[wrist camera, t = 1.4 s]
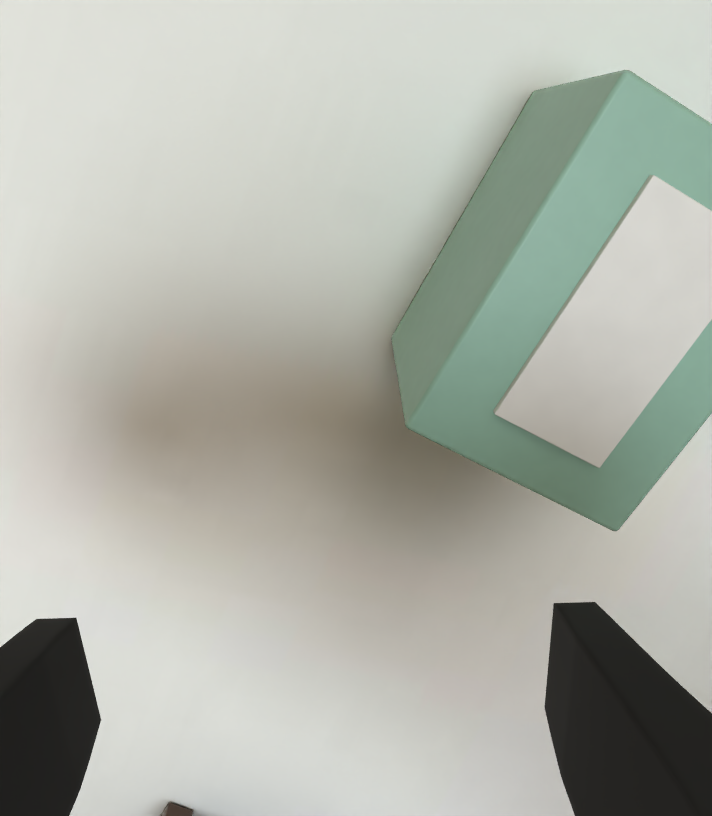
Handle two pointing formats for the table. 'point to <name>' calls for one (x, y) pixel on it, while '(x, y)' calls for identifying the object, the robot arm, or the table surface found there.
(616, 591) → the table surface
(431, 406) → the tissue box
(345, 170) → the table surface
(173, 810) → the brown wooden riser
